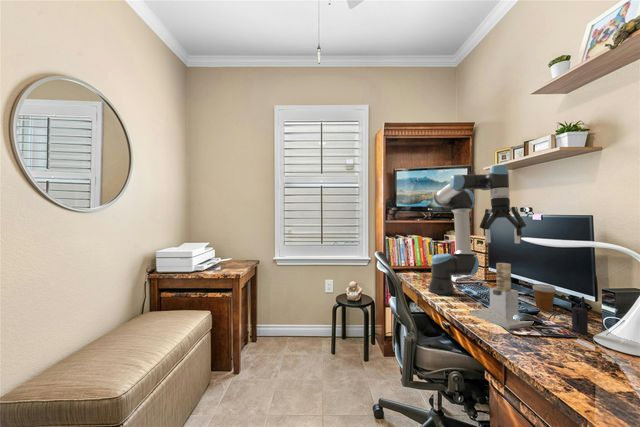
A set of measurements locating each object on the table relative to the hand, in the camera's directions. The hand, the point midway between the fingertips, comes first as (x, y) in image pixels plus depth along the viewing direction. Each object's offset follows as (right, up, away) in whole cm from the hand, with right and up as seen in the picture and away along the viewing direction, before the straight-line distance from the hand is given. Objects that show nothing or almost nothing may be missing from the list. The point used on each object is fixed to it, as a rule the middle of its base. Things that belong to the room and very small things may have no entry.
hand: (502, 243), depth 135 cm
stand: (+1, -35, 0) cm, 35 cm away
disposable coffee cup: (+29, -35, +12) cm, 47 cm away
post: (+1, -34, 0) cm, 34 cm away
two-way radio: (+21, -35, -16) cm, 44 cm away
